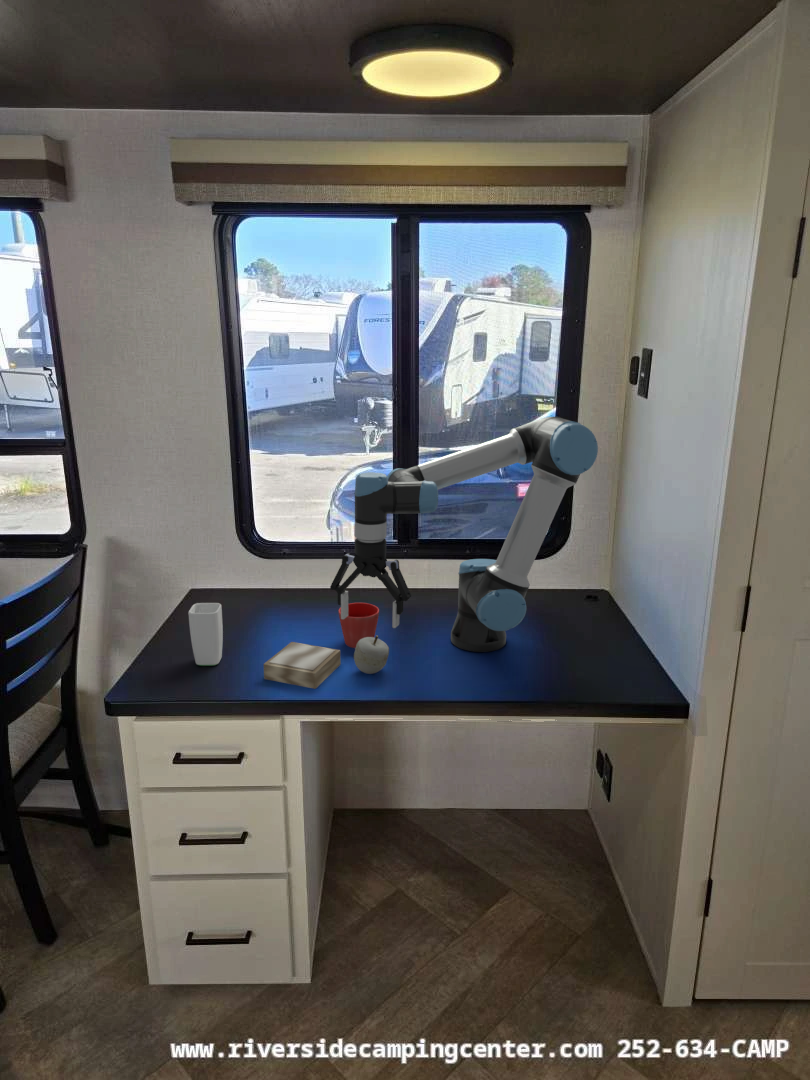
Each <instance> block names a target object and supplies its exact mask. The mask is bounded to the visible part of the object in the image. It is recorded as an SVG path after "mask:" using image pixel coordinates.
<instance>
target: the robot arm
mask: <svg viewBox="0 0 810 1080" xmlns="http://www.w3.org/2000/svg"><path fill="white" fill-rule="evenodd" d="M598 453H599V446H598V441H597V438H596V435H595V434H594V432H593V431H592V430H590V429H589V428H588V427H587V426H585V425H584V424H581V423H580V422H577V421H574V420H573V421H572V420H569V419H566V418H563V417H560V416H547V417H543V418H540V419H537V420H534V421H531V422H528V423H524V424H523V425H519V426H518V427H515V428H514V427H513V428H511V429H510V431H509V433H508V434H506V435H503V436H500V437H497V438H494V439H491V440H488V441H485V442H482V443H478V444H476V445H473V446H471V447H468V448H464V449H462V450H459V451H457V452H452V453H450V454H446V455H444V456H442V457H438V458H435V459H432V460H430V461H426V462H424V463H420V464H417V465H414V466H412V467H408V468H400V467H399V468H394V469H392V470H391V471H390V472H389V473H388V474H387V475H386V473H382V472H373V471H371V472H369V471H367V472H361V473H359V474H357V476H356V477H355V482H354V483H355V486H354V487H355V488H354V489H355V490H354V493H353V494H354V537H355V539H354V555H352V554H351V553H350V552H347V553H346V554H344V555H342V559H341V565H340V566H339V568H338V570H337V573H336V574H335V577H334V578H333V580H332V582H331V584H330V586H329V588H330V590H331V591H336V593H337V604H338V605H339V606H340V608H341V619H345V618H346V617H347V616H348V604H349V590H347V588H348V587H349V586H350V585H351V584H352V583H353V582H354V580H356V578H358V576H359V575H360V574H361V575H362V576H363V577H370V578H377V579H378V580H379V581H381V582H382V584H383V585H384V587H385V588H386V589H387V591H388V592H389V593H390V595H391V596H392V598H393V599H394V601H392V619H391V620H392V621H391V622H392V626H391V627H392V628H393V629H396V628H397V627H398V626H399V625H400V616H401V615H402V614H403V612H404V602H407V601H409V600H410V599H411V597H412V594H411V592H410V589H409V587H408V585H407V583H406V581H405V578H404V576H403V573H402V572H401V568H400V562H399V560H398V559H394V560H387V559H388V558H387V539H386V538H387V523H388V522H387V521H388V520H387V519H388V518H387V517H388V515H389V514H390V515H394V514H404V515H405V514H421V515H423V514H427V513H428V514H429V513H434V512H435V511H437V508H438V505H439V490H441V489H444V488H446V487H451V486H453V485H456V484H459V483H463V482H465V481H467V480H470V479H474V478H476V477H479V476H483V475H485V474H488V473H491V472H494V471H497V470H499V469H503V468H505V467H509V466H511V465H514V464H517V463H518V464H520V465H523V466H524V465H526V464H530V463H531V466H530V467H531V469H532V471H533V475H532V478H531V481H530V483H529V485H528V487H527V489H526V492H525V495H524V497H523V499H522V501H521V503H520V505H519V508H518V509H517V513H516V515H515V517H514V519H513V522H512V524H511V526H510V529H509V531H508V533H507V536H506V538H505V539H504V542H503V545H502V547H501V550H500V551H499V554H498V556H497V558H496V559H490V558H473V559H466V560H464V561H462V562H461V563H460V564H459V570H458V593H457V594H458V596H457V600H458V601H457V603H458V604H457V606H458V607H457V614H456V617H455V620H454V622H453V625H452V629H451V631H450V641H451V644H453V645H454V647H457V648H458V649H461V650H465V651H468V652H476V653H487V652H488V653H489V652H494V651H497V650H500V649H502V648H503V647H504V646H505V645H506V643H507V633H506V631H509V630H511V629H513V628H515V627H517V626H518V625H519V624H521V622H522V621H523V619H524V618H525V617H526V613H527V604H526V603H527V602H526V599H525V598H526V595H527V594H528V591H529V588H530V586H531V585H530V582H529V579H528V576H529V573H530V571H531V569H532V567H533V564H534V562H535V560H536V557H537V555H538V553H539V552H540V549H541V546H542V545H543V542H544V541H545V538H546V536H547V533H548V531H549V529H550V527H551V524H552V522H553V520H554V518H555V516H556V513H557V512H558V509H559V506H560V504H561V503H562V500H563V498H564V496H565V493H566V491H567V489H568V488H570V487H572V486H575V485H577V482H578V480H579V478H580V475H581V474H583V473H585V472H587V471H588V470H590V469H591V468H592V467H593V466H594V464H595V462H596V460H597V457H598ZM352 563H353V564H354V565H355V567H356V568H355V570H354V571H353V572H352V573H351V574H350V575H348V577H347V578H346V579H345V580H344V582H343V583H342V580H343V578H344V576H345V575H346V573H347V570H348V569H349V566H350V565H351V564H352ZM386 568H388V570H390V572H391V575H392V578H393V579H394V581H393V579H392V578H391V577H390V575H389V572H388V570H387V569H386ZM341 583H342V584H341Z"/></svg>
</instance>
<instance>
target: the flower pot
mask: <svg viewBox="0 0 810 1080" xmlns="http://www.w3.org/2000/svg"><path fill="white" fill-rule="evenodd" d="M379 614H380V608H379V607H378V606H376V605H375V604H371V603H367V602H352V603H351V602H350V603H348V616H347V617H346V618H345V619H341V607H339V609H338V618H339V621H340V622H339V623H340V627H341V631H342V636H343V639H344V643H345V645H346V646H347V647H349V648H352V649H355V648H356V645H357V643H358V641H359V640H360V639H362V638H365V637H374V638H375V637H376V631H377V627H378V626H377V625H378V621H379V616H380V615H379Z"/></svg>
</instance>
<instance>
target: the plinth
mask: <svg viewBox="0 0 810 1080" xmlns="http://www.w3.org/2000/svg"><path fill="white" fill-rule="evenodd" d="M341 661H342V660H341V649H336V648H330V647H323V646H318V645H313V644H307V643H300V642H297V641H290V642H289V643H288V644H286V645H285V646H284V647H283V648H282V649H281V650H280V651H278V652H277V653H275V654H274V655H273V656H272V657H270V658H269V659H268V660H267V661H265V662H264V663H263V678H264V679H263V680H268V681H272V682H279V683H284V684H288V685H294V686H299V687H304V688H309V689H314V690H315V689H317V688H318V687H319V686H320V685H321V684H322V683H323V682H324V681H325V680H326V679H327V678H329V677H330V675H332V674H333V672H334V671H335V670H337V669H338V668H339V667H340V666H341V665H342V663H341Z"/></svg>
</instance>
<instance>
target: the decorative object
mask: <svg viewBox="0 0 810 1080" xmlns="http://www.w3.org/2000/svg"><path fill="white" fill-rule="evenodd" d="M389 655H390V647H389V645H387V643H386V642H385V641H383V640H382V639H380V638H379V635H377V634H375V637H365V638H362V639H360V640H359V641H358V643H357V645H356V648H354V653H353V660H354V664H355V665H356V666H355V667H356V668H357V669H358V670H359V671H360V672H362V673H364V674H368V675H372V674H373V675H374V674H376V673H378V672H380V671H381V670H382V669H384V667H385V666H386V665H387V661H388V659H389Z"/></svg>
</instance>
